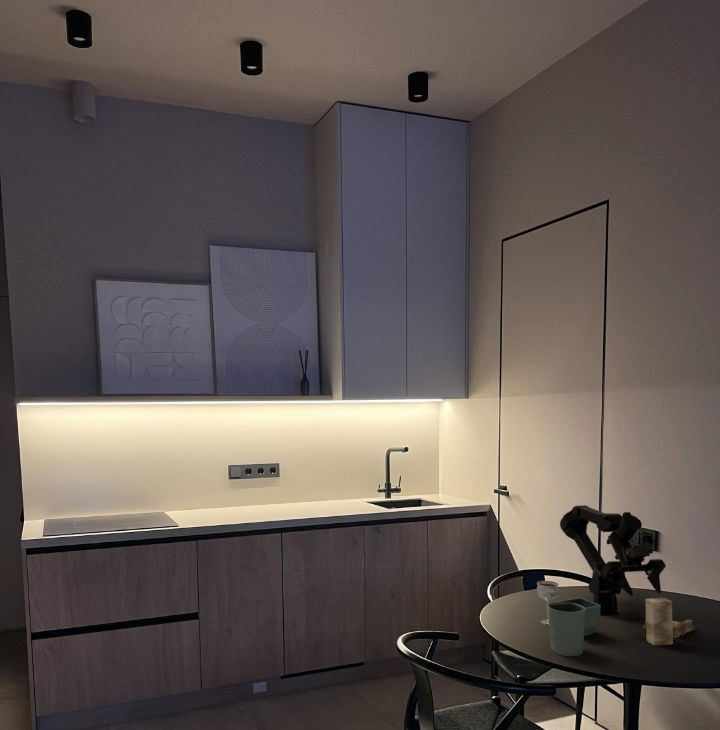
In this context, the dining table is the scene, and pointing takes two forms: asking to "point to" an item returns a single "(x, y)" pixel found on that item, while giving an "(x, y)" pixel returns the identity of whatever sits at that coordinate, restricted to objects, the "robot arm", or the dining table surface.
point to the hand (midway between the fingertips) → (646, 594)
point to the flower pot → (588, 614)
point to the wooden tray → (680, 627)
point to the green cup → (566, 628)
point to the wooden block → (659, 621)
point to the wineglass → (547, 593)
